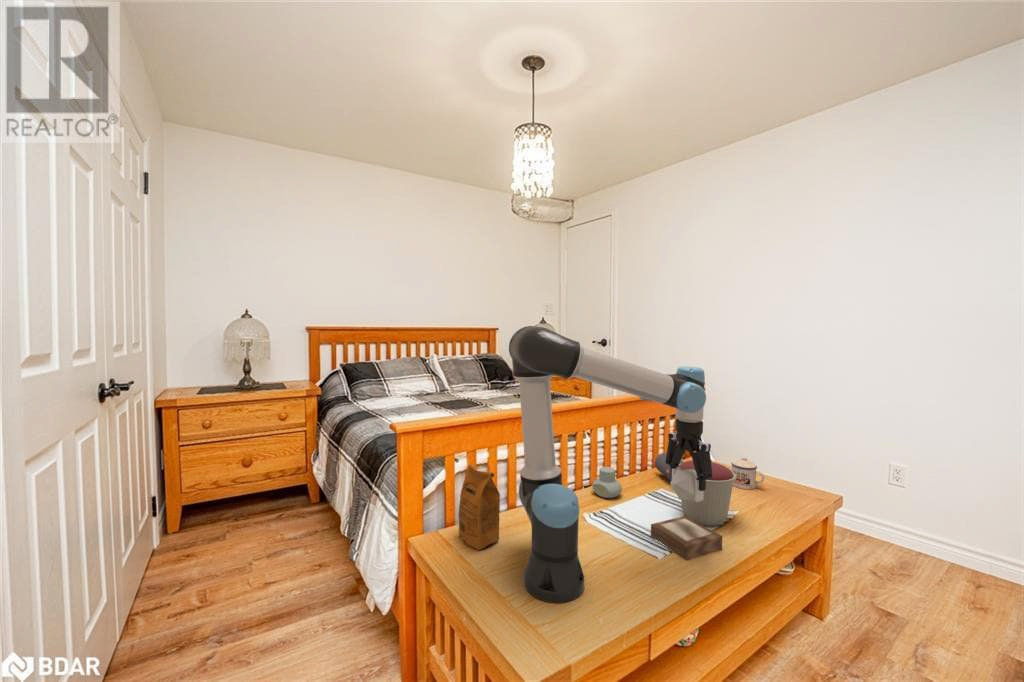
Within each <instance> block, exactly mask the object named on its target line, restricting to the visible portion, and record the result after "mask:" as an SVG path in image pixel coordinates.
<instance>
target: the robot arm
mask: <svg viewBox="0 0 1024 682" xmlns="http://www.w3.org/2000/svg"><path fill="white" fill-rule="evenodd" d="M508 352H509V356H510V358H511V362H512V363H511V364H512V373H513V374H512V377H513V378H514V379H515V380H516V381H518V383H519V396H520V397H519V398H520V399H519V400H520V411H521V412H520V413H521V427H522V442H523V455H524V456H523V457H524V466H523V467H522V468H521V469H520V471H519V474H520V475H519V476H520V482H519V487H518V495H519V500H520V503H521V504H522V506H523V508H524V510H525V513H526V515H527V518H528V520H529V522H530V524H531V525H530V526H531V552H530V555H529V557H528V561H527V564H526V567H525V570H524V574H523V583H524V588H525V589H526V590H527V592H528V593H529V594H530V595H532V597H534V598H536V599H539V600H540V601H544V602H546V603H547V602H548V603H554V604H555V603H558V604H559V603H567V602H571V601H573V600H576V599H577V598H579V597H580V596H581V595H582V594H583V592H584V590H585V574H584V572H583V567H582V564H581V561H580V557H579V554H578V553H579V521H580V520H579V517H580V516H579V515H580V505H579V498H578V495H577V494H576V493H575V491H574V490H572V489H571V488H569V487H566V486H565V485H563V479H562V476H563V475H562V468H561V467H560V466H559V465H557V464H556V454H555V453H556V452H555V436H554V422H553V421H554V420H553V406H552V404H553V403H552V392H551V390H552V389H551V380H552V378H553V377H554V376H556V377H560V378H563V379H567V380H570V379H571V378H577V379H581V380H584V381H587V382H590V383H594V384H597V385H599V386H603V387H607V388H610V389H613V390H617V391H619V392H623V393H626V394H629V395H633V396H635V397H639V399H641V401H644V402H645V401H646V402H648V401H649V402H656V403H658V404H662V405H665V406H668V407H671V408H674V409H675V418H676V419H675V426H674V427H675V431H676V432H672V433H668V434H667V435H668V444H667V445H668V446H667V451H666V453H667V455H666V461H665V462H666V464H669V465H670V468H671V478H672V479H673V476H674V474H675V472H676V470H677V469H681V468H677V467H680V466H679V464H680V461H681V460H682V459H683V456H684V454H685V452H686V451H687V452H688V454H689V456H690V457H691V459H692V460H693V463H694V467H695V470H696V474H697V477H698V478H696V479H695V499H694V501H696V502H698V501H702V500H703V496H704V491H705V489H706V480H708V479H712V468H711V461H712V459H711V447H712V445H711V444H710V443H705V442H704V441H703V440H702V434H703V433H704V421H703V420H704V409H705V408H704V406H705V404H706V401H707V395H706V391H705V385H706V381H705V380H706V379H705V370H704V369H703V368H701V367H697V366H679V367H678V368H677V369H676V373H675V374H670V373H669V374H665V373H661V372H659V371H657V370H652V369H650V368H647V367H643V366H641V365H637V364H634V363H632V362H628V361H626V360H621V359H619V358H616V357H612V356H610V355H608V354H603V353H600V352H597V351H595V350H591V349H589V348H584V347H583V346H582V344H581V343H580V341H576V340H574V339H572V338H568V337H566V336H564V335H562V334H560V333H557V332H555V331H554V330H552V329H550V328H547V327H543V326H537V325H528V326H523V327H521V328H519V329H518V330H516V331H515V332H514V333H513V334H512V335H511V338H510V340H509V343H508ZM692 460H691V461H692ZM701 474H702V475H701ZM671 491H673V492H675V491H674V490H673V488H672V487H671Z"/></svg>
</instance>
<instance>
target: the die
mask: <svg viewBox="0 0 1024 682" xmlns="http://www.w3.org/2000/svg"><path fill="white" fill-rule="evenodd" d="M696 478H698V477H697V474H696V471H695V470H685V469H677V470H676V472H675V474H674V476H673V479H672V481H671V482H670V484H669V485H670V486H671V489H672V488H673V490H674V491H673V490H672V491H673V492H675V494H676V496H677V498H678V499H679V500H681V499H683V500H694V499H695V479H696Z"/></svg>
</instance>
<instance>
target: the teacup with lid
mask: <svg viewBox="0 0 1024 682" xmlns="http://www.w3.org/2000/svg"><path fill="white" fill-rule="evenodd" d="M730 464H731V471H733V472H734V473H735V474H736V478H735V479H734V480H733V486H732V487H735V488H738V489H740V490H741V489H742V490H747V491H748V490H750V491H751V490H755V488H756V484H757V485H759V484H762V483H764V481H765V474H764V473H763V472H761V471H758V470H757V468H758V466H757V464H756V463H754V462H752V461H750V460H749V459H748V458H747V456H742V457H741V458H739V459H734V460H732V461H731V463H730ZM757 474H758V475H760V476H761V480H760V481H756V480H757Z"/></svg>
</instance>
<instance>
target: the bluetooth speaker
mask: <svg viewBox="0 0 1024 682" xmlns="http://www.w3.org/2000/svg"><path fill="white" fill-rule="evenodd" d="M666 455H667V452H662V453H659V454H658V455H657V456H656V458H655V461H654V466H655V468H656V470H657V471H658V472H660V473H661V474H662V475H663V476H664V477H666V478H667V480H668V481H669V482H670V483H671V481H672V478H671V468H670V465H669V464H666V462H665V461H666ZM683 462H684V461H683V460H682V459H681V461H680V464H681V463H683Z"/></svg>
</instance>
